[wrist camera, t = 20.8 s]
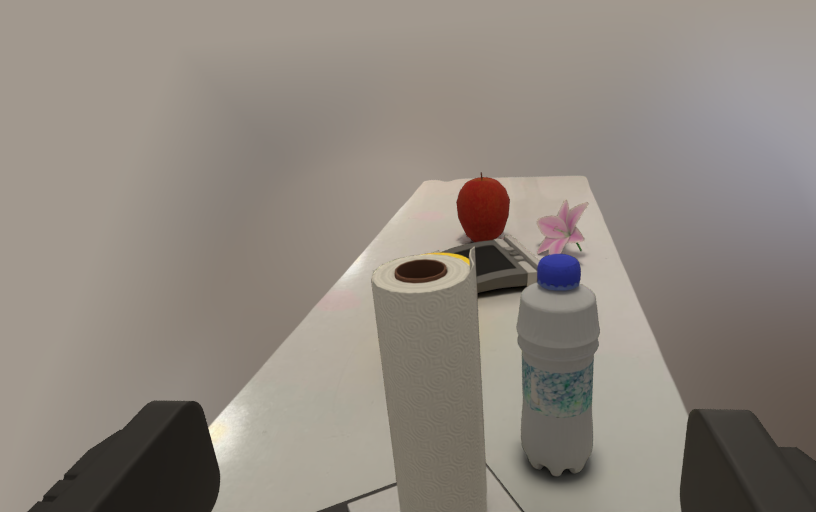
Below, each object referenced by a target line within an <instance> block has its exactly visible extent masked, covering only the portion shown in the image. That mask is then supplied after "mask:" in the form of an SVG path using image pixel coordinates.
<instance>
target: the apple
mask: <svg viewBox="0 0 816 512" xmlns="http://www.w3.org/2000/svg"><path fill="white" fill-rule="evenodd" d="M509 204H510V199H509V196H508V194H507V191H506V189H505V188H504V187H503V186H502V185H501V184H500V183H499V182H498V181H497V180H495V179H492V178H487V177H486V178H485V177H482V173H481V178H475V179H472V180H470V181H468V182H466V183H465V185H464V186H463V187H462V189H461V190H460V192H459V195H458V199H457V211H458V218H459V220H460V223H461V225H462V227H463V229H464V231H465V233H466V236H468V237H469V238H470V239H471V240H473V241H474V242H480V241H489V240H494V239H496V238H497V237H498V236H500V235H501V234H502V232H503V231H504V228H505V225H506V222H507V219H508V216H509Z"/></svg>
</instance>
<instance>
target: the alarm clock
mask: <svg viewBox="0 0 816 512" xmlns="http://www.w3.org/2000/svg"><path fill="white" fill-rule="evenodd" d="M473 247H475V262H476V282H477V293H479V292H483V291H488V290H493V289H498V288H505V287H514V286H527V287H528V286H529V285H532V284H534V283H537V267H538V263H539V261H540V260H539V259H538V258H537V257H535V256H534V255H533V254H532V253H531V252H530V251H529V250H527V249H526V248H525V247H524V246H523V245H522V244H521V243H519V242H518V241H517V240H516V239H515V238H514V237H512V236H511V235H504V239H502V238H500V239H494V240H489V241H480V242H475V243H470V244H465V245H461V246H458V247H454V248H451V249H448V250H445V251H442V252H440V251H439V250H438V251H435V252H433V253H452V254H458V255H461V256H464V257H466V258H468V259H469V254H470V250H471V249H472V248H473Z"/></svg>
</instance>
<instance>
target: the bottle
mask: <svg viewBox="0 0 816 512" xmlns="http://www.w3.org/2000/svg"><path fill="white" fill-rule="evenodd" d="M580 277H581V268H580V264H579V262H578V261H577V259H576V258H574V257H572V256H570V255H566V254H551V255H548V256H545V257H543V258H542V259H541V260H540V261H539V263H538V267H537V283H534V284H532V285H529V286H528V287H526V288H525V289H524V290H523V292H522V294H521V299H520V307H519V315H518V322H517V327H516V328H517V332H518V344H519V346H520V348H521V350H522V389H523V406H522V419H521V441H522V446H523V449H524V451H525V452H526V454H527V456H528V459H529V461H530V463H531V465H532V466H533V467H535V468H536V469H542V468H543V466H546V467H547V468H548V469H549V470H550V472H551V474H552V475H553V476H560V475H561V473H562V472H563V471H564V470H565V469H568V468H569V470H570V471H571V472H572V473H578V472H579V471H581V470H582V468H583V467H584V465H585V463H586V460H587V459H588V458H589V457H590V455H591V452H592V446H593V422H592V388H593V362H594V353H595V352H596V350H597V349H598V346H599V342H598V337H599V334H600V328H599V321H598V313H597V304H596V297H595V294H594V293H593V291H592V290H591V289H589V288H588V287H586V286H584V285H582V284H579V283H580Z"/></svg>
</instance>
